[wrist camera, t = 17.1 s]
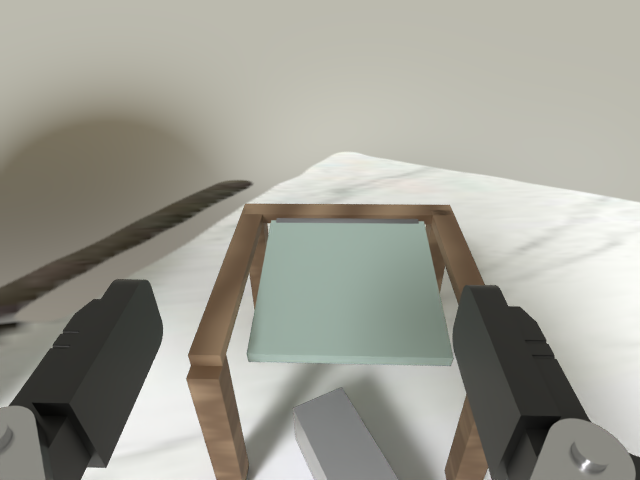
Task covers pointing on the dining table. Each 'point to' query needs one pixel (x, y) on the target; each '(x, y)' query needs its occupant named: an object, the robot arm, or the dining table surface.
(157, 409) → the dining table surface
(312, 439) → the grey rectangular block
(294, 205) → the trapdoor frame
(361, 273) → the trapdoor
